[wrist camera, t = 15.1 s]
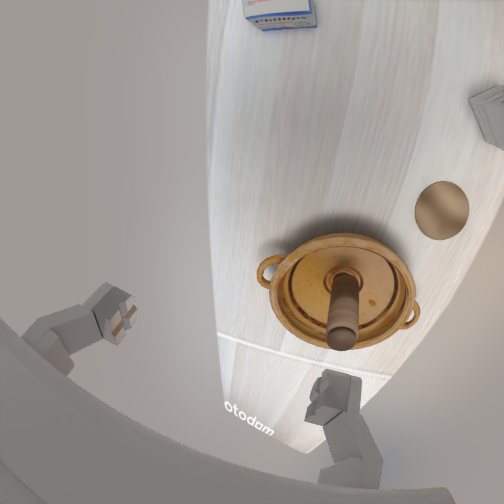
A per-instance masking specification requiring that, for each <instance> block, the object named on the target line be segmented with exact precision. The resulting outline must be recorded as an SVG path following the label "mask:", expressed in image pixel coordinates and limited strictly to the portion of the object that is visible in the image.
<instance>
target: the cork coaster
mask: <svg viewBox="0 0 504 504" xmlns="http://www.w3.org/2000/svg"><path fill="white" fill-rule="evenodd" d="M468 215H469V203H468V199H467V197H466V195H465V193H464V192H463V191H462V190H461V188H459V187H458V186H457V185H455V184H453V183H450V182H437V183H434V184H432V185H430V186H429V187H427V188H426V189H425V190H424V191H423V192H422V193H421V195H420V196H419V198H418V200H417V203H416V207H415V218H416V222H417V224H418V227H419V228H420V230H421V231H422V232H423V233H424V234H425V235H426V236H427V237H429V238H432V239H435V240H445V239H449V238H451V237H453V236H455V235H456V234H458V233H459V232H460V231H461V230H462V228H463V227H464V225H465V224H466V222H467V219H468Z"/></svg>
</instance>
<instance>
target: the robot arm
mask: <svg viewBox="0 0 504 504" xmlns="http://www.w3.org/2000/svg"><path fill="white" fill-rule="evenodd" d="M134 303H136V299H135V296H132V295H131V294H128V293H127V292H125V291H123V290H121V289H119V288H117V287H115V286H113V285H111V284H109V283H107V282H105V283H103V284H102V285H101V286H100V287H99V288H98V289H97V290H96V291H95V292H94V293H93V294H92V295H91V296H90V298H88V300H87V301H86V302H85V303H84V304H83V305H80V304H78V305H75V306H73V307H70V308H67V309H64V310H61V311H58V312H55V313H52V314H49V315H46V316H43V317H40V318H38V319H37V320H36V321H35V322H34V323H33V324H32V325H31V327H30V328H29V329H28V330H27V331H26V332H25V333H24V334H23V336H22V337H20V336H19V335H18V334H17V333H16V332H15V331H14V330H13V329H12V328H11V327H10V326H9V325H8V324H7V323H6V322H5V321H4V320H3V319H2V318H1V317H0V504H456V503H455V501H454V499H453V497H452V495H451V494H450V492H449V490H448V489H447V488H445V487H434V488H422V489H379V485H380V479H381V473H382V465H383V458H382V456H381V454H380V452H379V450H378V448H377V445H376V443H375V441H374V439H373V437H372V435H371V433H370V431H369V428H368V426H367V424H366V422H365V420H364V418H363V416H362V415H360V414H359V410H360V400H361V387H362V380H361V378H360V377H356V376H352V375H349V374H345V373H341V372H337V371H333V370H329V369H325V370H324V371H323V372H322V377H320V378H318V379H317V380H316V381H315V383H314V385H313V387H312V390H311V394H310V400H311V402H312V403H311V404H310V405H309V406H308V407H307V412H306V416H305V420H304V421H305V422H309V423H313V424H317V425H320V426H323V429H324V433H325V436H326V439H327V442H328V445H329V448H330V452H331V455H332V458H333V461H334V464H332V465H330V466H327V467H325V468H323V469H321V471H320V475H319V479H318V483H313V482H307V481H301V480H296V479H292V478H287V477H282V476H278V475H274V474H270V473H266V472H262V471H258V470H255V469H251V468H248V467H245V466H241V465H238V464H235V463H232V462H229V461H226V460H223V459H220V458H217V457H214V456H211V455H209V454H207V453H204V452H201V451H199V450H196V449H194V448H191V447H189V446H187V445H184V444H182V443H180V442H177V441H175V440H173V439H171V438H169V437H167V436H164V435H162V434H160V433H158V432H156V431H154V430H152V429H150V428H148V427H146V426H144V425H143V424H141V423H139V422H137V421H135V420H133V419H131V418H130V417H128V416H126V415H124V414H123V413H121V412H119V411H117V410H116V409H114V408H113V407H111V406H109V405H108V404H106V403H105V402H103V401H101V400H100V399H98V398H97V397H95V396H94V395H92V394H91V393H89V392H88V391H86V390H85V389H83V388H82V387H81V386H79V385H78V384H76V383H75V382H74V381H72V380H71V379H70V378H68V377H67V376H68V374H69V373H70V372H71V370H72V369H73V368H74V362H73V361H72V359H71V358H70V357H69V355H71V354H73V353H75V352H77V351H79V350H81V349H83V348H85V347H87V346H89V345H91V344H93V343H95V342H97V341H99V340H101V339H102V338H104V339H106V340H107V341H110V342H111V343H113V344H115V345H117V346H118V345H119V344H120V342H121V341H122V340H123V338H124V337H125V336H126V332H125V331H126V330H127V329H130V328H132V326H133V325H134V324H135V321H136V319H137V314H138V311H137V308H136V306H135V305H134Z"/></svg>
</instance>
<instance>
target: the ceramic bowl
mask: <svg viewBox="0 0 504 504" xmlns="http://www.w3.org/2000/svg"><path fill="white" fill-rule="evenodd" d="M271 264H279V266H278V267H277V269H276V270H275V272H274V274H273V277H272V279H271V281H268V280H266V279H265V278H264V277H263V273H264V270H265V268H266V267H267V266H269V265H271ZM342 274H349V275H352V276H354V277H355V278H356V279H357V280H358V282H359V331H358V339H357V341H356V343H355V345H354V347H353V348H351V349H349V350H353V349H360V348H365V347H368V346H372V345H374V344H377V343H380V342H382V341H383V340H385V339H387V338H389V337H390V336H392V335H393V334H394V333H396V332H397V331H398V330H399V329H402V330H403V329H408V328H410V327H412V326H413V325H414V324H415V323H416V322H417V320H418V318H419V316H420V307H419V305H418V303H417V302H416V301H415V297H416V292H415V283H414V280H413V277H412V274H411V272H410V271H409V269H408V267H407V266H406V264H405V263H404V262H403V261H402V260H401V259H400V258H399V257H398V256H397V255H396V254H395V253H394V252H393V250H391V249H390V248H389V247H387V246H386V245H384V244H383V243H381V242H379V241H377V240H375V239H373V238H370V237H368V236H364V235H360V234H354V233H332V234H327V235H323V236H319V237H317V238H314V239H312V240H310V241H307V242H305V243H304V244H302V245H301V246H299V247H298V248H296V249H295V250H294V251H293V252H292V253H290V254H285V255H276V256H272V257H269V258H267V259H265V260H264V261H263V262H262V263H261V264H260V266H259V268H258V270H257V279H258V282H259V283H260V285H261V286H263V287H265V288H267V289H269V295H270V302H271V306H272V309H273V311H274V313H275V315H276V317H277V318H278V320H279V321H280V322H281V323H282V325H283V326H284V327H285V328H286V329H287V330H288V331H289V332H291V333H292V334H294V335H295V336H296V337H298V338H300V339H302V340H303V341H305V342H307V343H310V344H313V345H316V346H319V347H323V348H327V349H332V348H330V347H329V346H328V345H327V339H326V337H325V333H326V326H327V319H328V312H329V304H330V296H331V287H332V282H333V280H334V278H336V277H337V276H339V275H342ZM412 309H413V310H414V313H415V314H414V317H413V319H412V320H411V321H409V322H406V321H407V319H408V318H409V316H410V314H411V312H412Z"/></svg>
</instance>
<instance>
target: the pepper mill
mask: <svg viewBox="0 0 504 504" xmlns="http://www.w3.org/2000/svg"><path fill="white" fill-rule="evenodd" d="M358 331H359V282H358V280H357V279H356V278H355V277H354V276H352V275H349V274H342V275H339V276H337V277H336V278H334V280H333V282H332V287H331V296H330V304H329V312H328V319H327V326H326V333H325V337H326V339H327V345H328V346H329V347H330V348H332V349H334V350H337V351H346V350H349V349H351V348H353V347H354V345H355V343H356V341H357V339H358Z"/></svg>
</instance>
